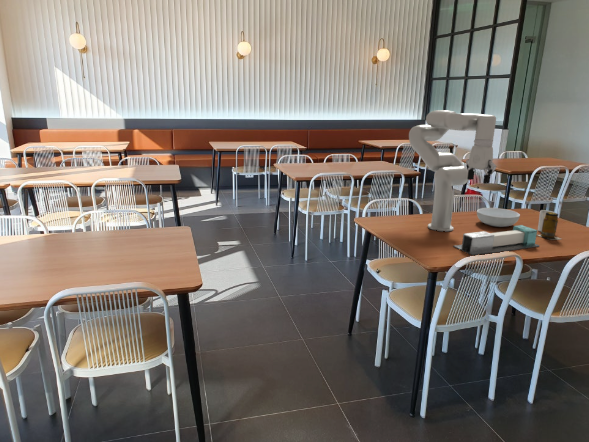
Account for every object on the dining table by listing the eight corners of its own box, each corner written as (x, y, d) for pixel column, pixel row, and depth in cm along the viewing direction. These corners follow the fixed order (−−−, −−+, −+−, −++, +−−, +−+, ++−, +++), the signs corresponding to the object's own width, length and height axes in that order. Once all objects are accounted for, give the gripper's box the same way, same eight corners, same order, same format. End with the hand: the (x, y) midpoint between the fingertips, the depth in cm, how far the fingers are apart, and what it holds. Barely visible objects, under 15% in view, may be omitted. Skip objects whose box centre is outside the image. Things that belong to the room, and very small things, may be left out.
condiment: (546, 234, 218) (551, 211, 215) (562, 239, 211) (566, 215, 208) (536, 235, 216) (540, 212, 213) (551, 240, 208) (555, 216, 205)
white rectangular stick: (487, 247, 193) (488, 236, 191) (480, 244, 196) (481, 234, 195) (527, 242, 201) (528, 231, 200) (519, 239, 205) (521, 229, 203)
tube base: (472, 255, 185) (474, 239, 183) (453, 246, 196) (455, 231, 194) (539, 246, 199) (542, 231, 197) (517, 238, 210) (520, 223, 208)
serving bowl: (480, 217, 247) (482, 205, 246) (521, 224, 236) (523, 211, 234) (470, 225, 231) (472, 212, 229) (513, 232, 219) (516, 219, 218)
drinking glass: (550, 233, 220) (554, 214, 217) (535, 230, 223) (539, 212, 221) (552, 230, 225) (555, 211, 222) (537, 228, 229) (541, 209, 226)
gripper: (462, 141, 200) (458, 178, 204) (491, 145, 184) (486, 185, 189) (475, 141, 202) (470, 177, 207) (505, 145, 187) (499, 184, 192)
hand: (478, 181), depth 198 cm, fingers open, 9 cm apart
